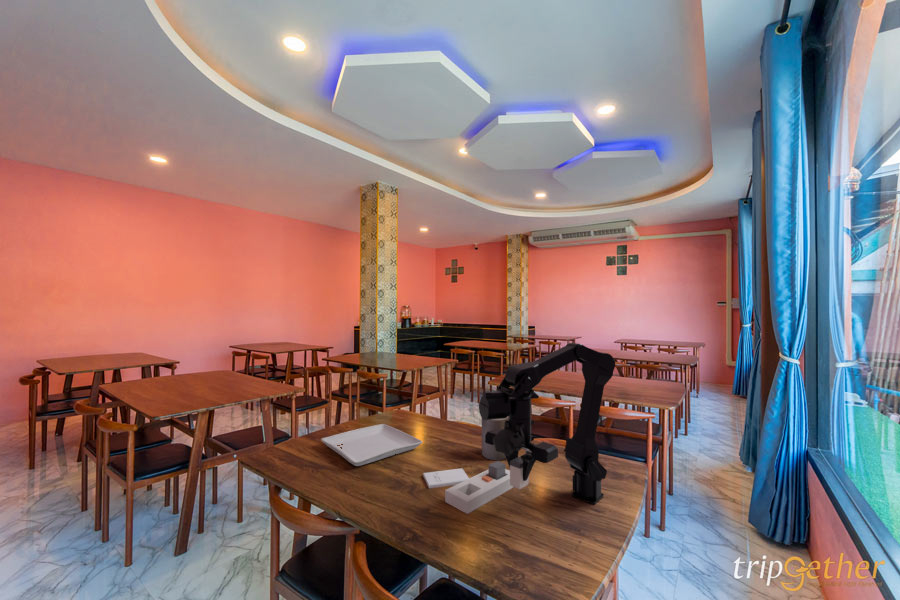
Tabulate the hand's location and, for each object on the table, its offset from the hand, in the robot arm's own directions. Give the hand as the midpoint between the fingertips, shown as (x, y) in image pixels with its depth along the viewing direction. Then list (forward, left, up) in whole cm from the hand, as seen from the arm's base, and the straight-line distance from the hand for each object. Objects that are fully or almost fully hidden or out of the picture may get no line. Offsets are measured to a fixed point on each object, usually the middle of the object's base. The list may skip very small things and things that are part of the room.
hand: (519, 478), depth 91 cm
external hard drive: (+25, +2, -9) cm, 26 cm away
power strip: (+12, 0, -8) cm, 14 cm away
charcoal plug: (+12, -6, -8) cm, 16 cm away
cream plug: (0, 0, -2) cm, 2 cm away
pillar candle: (+26, -23, -8) cm, 36 cm away
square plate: (+61, +5, -9) cm, 62 cm away
